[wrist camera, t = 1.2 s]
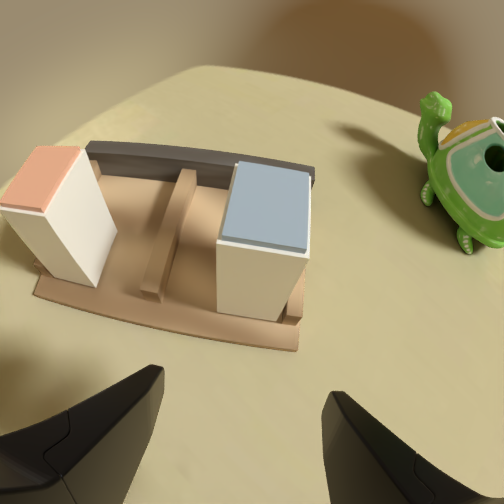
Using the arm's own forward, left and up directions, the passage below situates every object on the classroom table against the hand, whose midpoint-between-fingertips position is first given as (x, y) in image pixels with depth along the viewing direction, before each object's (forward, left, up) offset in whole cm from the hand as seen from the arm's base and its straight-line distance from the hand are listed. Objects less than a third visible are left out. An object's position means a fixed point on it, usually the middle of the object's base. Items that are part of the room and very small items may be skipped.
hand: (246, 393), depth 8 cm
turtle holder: (+32, +2, -12) cm, 34 cm away
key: (-4, +15, -12) cm, 19 cm away
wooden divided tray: (+2, +12, -12) cm, 17 cm away
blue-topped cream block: (+6, +6, -12) cm, 14 cm away
